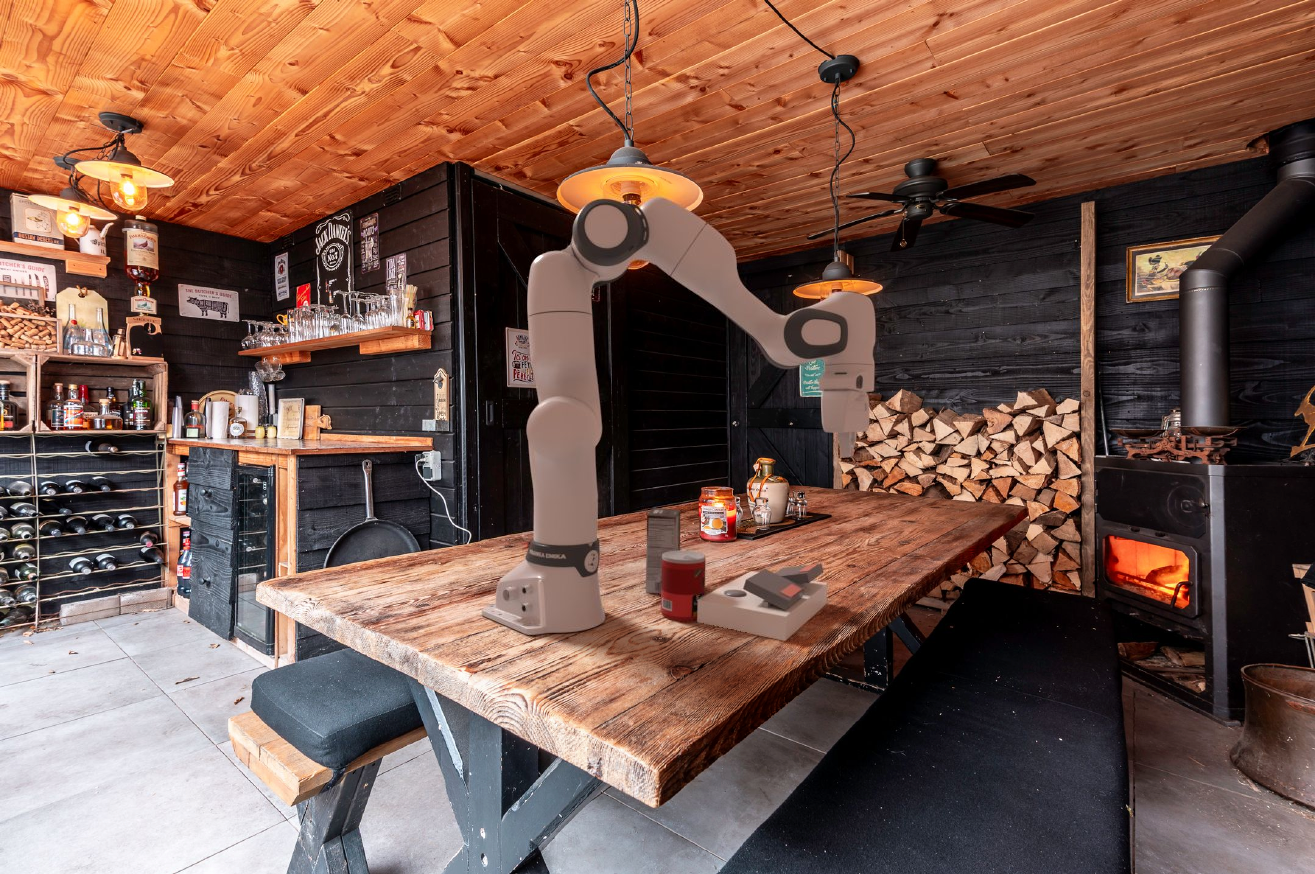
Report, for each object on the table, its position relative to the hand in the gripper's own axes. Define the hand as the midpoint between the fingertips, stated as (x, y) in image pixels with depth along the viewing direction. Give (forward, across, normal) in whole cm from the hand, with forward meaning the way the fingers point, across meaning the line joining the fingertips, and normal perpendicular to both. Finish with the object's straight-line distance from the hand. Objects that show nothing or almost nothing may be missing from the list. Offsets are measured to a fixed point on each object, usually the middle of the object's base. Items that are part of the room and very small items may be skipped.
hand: (846, 456), depth 112 cm
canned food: (+29, +18, -24) cm, 42 cm away
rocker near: (+23, +13, -8) cm, 28 cm away
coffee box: (+29, +5, -36) cm, 47 cm away
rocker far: (+23, +2, -8) cm, 25 cm away
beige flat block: (+29, +8, -12) cm, 33 cm away
